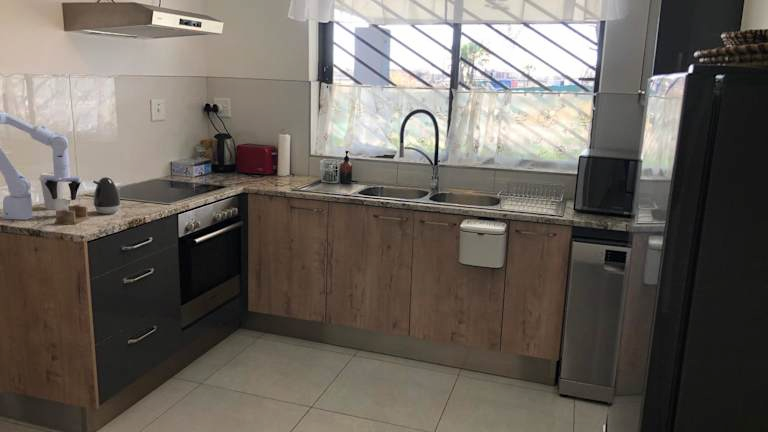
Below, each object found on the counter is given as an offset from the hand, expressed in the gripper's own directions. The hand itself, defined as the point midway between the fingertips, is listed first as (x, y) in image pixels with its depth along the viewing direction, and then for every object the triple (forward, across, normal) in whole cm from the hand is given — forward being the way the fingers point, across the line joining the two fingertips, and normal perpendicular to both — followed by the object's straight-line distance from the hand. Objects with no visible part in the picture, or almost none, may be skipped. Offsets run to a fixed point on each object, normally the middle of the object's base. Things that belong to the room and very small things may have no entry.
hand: (64, 199), depth 244 cm
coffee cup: (+7, -12, +13) cm, 19 cm away
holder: (+7, +7, -8) cm, 12 cm away
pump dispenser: (+7, +13, +9) cm, 17 cm away
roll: (+7, 0, 0) cm, 7 cm away
